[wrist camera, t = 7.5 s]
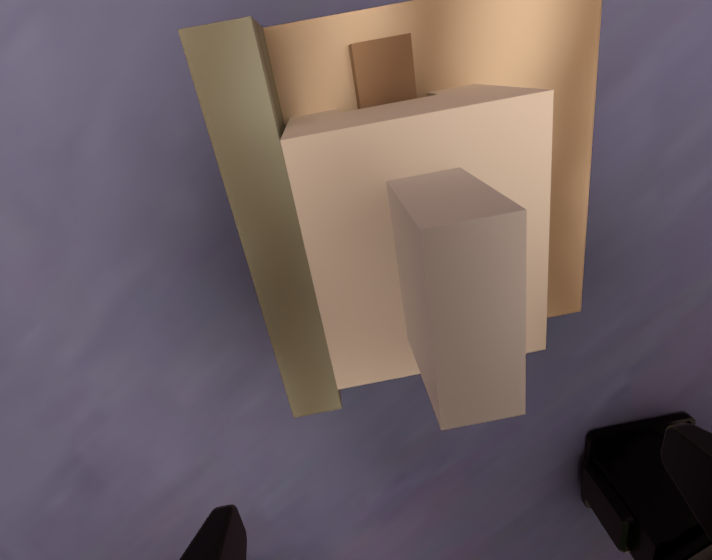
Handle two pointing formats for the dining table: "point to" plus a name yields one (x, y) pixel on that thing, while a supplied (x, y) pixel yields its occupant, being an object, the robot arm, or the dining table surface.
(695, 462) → the robot arm
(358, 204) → the cabinet block
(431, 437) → the dining table surface
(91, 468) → the dining table surface
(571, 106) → the cleat board
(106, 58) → the dining table surface
